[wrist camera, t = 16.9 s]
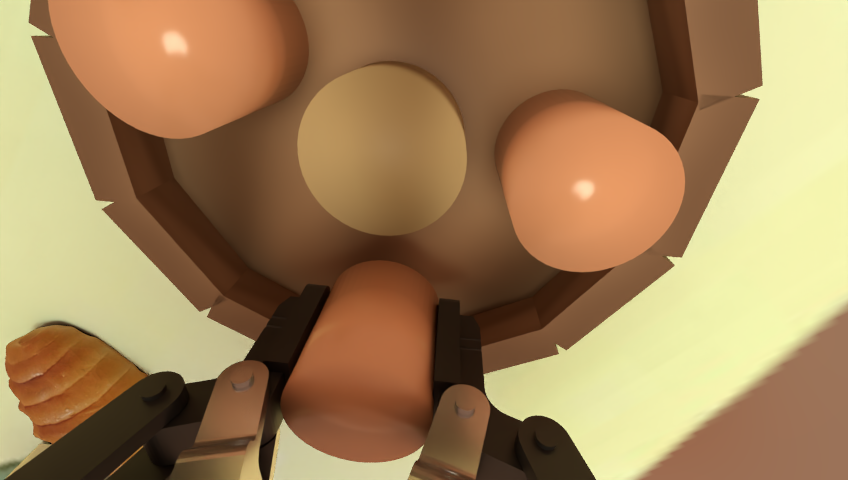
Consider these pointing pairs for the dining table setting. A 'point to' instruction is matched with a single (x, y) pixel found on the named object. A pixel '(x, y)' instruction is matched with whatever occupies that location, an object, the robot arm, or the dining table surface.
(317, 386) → the bead
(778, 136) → the dining table surface
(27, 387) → the pastry
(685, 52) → the tray
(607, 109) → the bead
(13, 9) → the dining table surface
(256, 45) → the bead
